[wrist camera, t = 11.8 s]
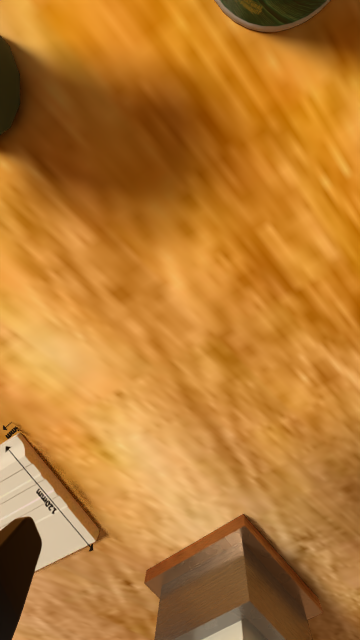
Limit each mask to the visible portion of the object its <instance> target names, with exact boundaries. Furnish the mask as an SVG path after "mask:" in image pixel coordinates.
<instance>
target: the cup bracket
mask: <svg viewBox="0 0 360 640" xmlns="http://www.w3.org/2000/svg"><path fill="white" fill-rule="evenodd" d="M144 583H145V584H146V585H147V586H148V587H149V588H150V589H151V590H152V591H153V592H154V593H155V594H156V596H157V597H158V598H159V599H160V602H159V610H158V617H157V625H156V632H155V640H202V639H204V638H206V637H208V636H210V635H212V634H214V633H216V632H218V631H220V630H222V629H224V628H226V627H228V626H230V625H233V624H235V623H237V622H239V621H241V620H243V619H245V618H247V619H248V620H249V621H250V622H251V623H252V624H253V625H254V626H255V628H256V629H257V630H258V631H259V632H260V633H261V634H262V635H263V636H264V637H265V638H266V639H267V640H313V639H312V635H311V632H310V628H309V624H308V621H307V620H308V619H311V618H313V617H315V616H317V615H319V614H321V613H323V611H322V608H321V605H320V602H319V599H318V597H317V596H316V595H315V594H314V593H313V592H312V591H311V590H310V588H309V587H308V586H307V585H306V584H305V583H304V582H303V581H302V579H301V578H300V577H299V576H298V575H297V574H296V573H295V572H294V571H293V569H292V568H291V567H290V566H289V565H288V564H287V563H286V562H285V560H284V559H283V558H282V557H281V556H280V555H279V554H278V553H277V551H276V550H275V549H274V548H273V547H272V546H271V545H270V544H269V543H268V541H267V540H266V539H265V538H264V537H263V536H262V535H261V534H260V532H259V531H258V530H257V529H256V528H255V527H254V526H253V525H252V523H251V522H250V521H249V520H248V519H247V518H246V517H245V516H244V515H241V516H239V517H237V518H236V519H234V520H232V521H231V522H229V523H227V524H225V525H224V526H222V527H220V528H219V529H217V530H215V531H214V532H212V533H210V534H208V535H207V536H205V537H203V538H202V539H200V540H198V541H196V542H195V543H193V544H191V545H190V546H188V547H186V548H184V549H183V550H181V551H179V552H178V553H176V554H174V555H172V556H171V557H169V558H167V559H166V560H164V561H162V562H160V563H159V564H157V565H155V566H154V567H152V568H150V569H148V570H147V572H146V577H145V582H144Z"/></svg>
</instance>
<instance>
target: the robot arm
mask: <svg viewBox="0 0 360 640" xmlns="http://www.w3.org/2000/svg"><path fill="white" fill-rule="evenodd" d="M41 548H42V539H41V537H40V534H39V532H38V530H37V527H36V525H35V522H34V520H33V518H31V517H29V516H27V517H20V518H16V519H14V520H13V521H11V522H10V523H9V524H8V525H7V526H5V527H4V528H3V529H2V530H0V640H12V638H13V635H14V632H15V630H16V627H17V624H18V622H19V619H20V616H21V613H22V610H23V607H24V604H25V600H26V597H27V594H28V591H29V588H30V584H31V581H32V578H33V575H34V572H35V568H36V565H37V562H38V559H39V556H40V552H41Z"/></svg>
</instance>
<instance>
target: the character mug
mask: <svg viewBox="0 0 360 640" xmlns="http://www.w3.org/2000/svg"><path fill="white" fill-rule="evenodd" d="M19 105H20V74H19V71H18V69H17V66H16V63H15V60H14V57H13V54H12V51H11V48H10V46H9V45H8V44H7V43H6V42H5V40H4V39H3V38H2V37H1V36H0V135H1V134H2V133H4V132H5V131H6V130H8V129H9V128H10V127H11V125H12V122H13V120H14V117H15V115H16V112H17V110H18V107H19Z"/></svg>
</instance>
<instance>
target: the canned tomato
mask: <svg viewBox="0 0 360 640" xmlns="http://www.w3.org/2000/svg"><path fill="white" fill-rule="evenodd" d="M329 1H330V0H215V2H216V3H217V4H218V6H219V7H220V8H221V10H222V11H223V12H224V13H225V14H226V15H227V16H229V17H230V18H231V19H232V20H233V21H234V22H236V23H238V24H240V25H242V26H244V27H246V28H249V29H253V30H257V31H261V32H277V31H281V30H286V29H290V28H293V27H295V26H297V25H299V24H301V23H304V22H306V21H307V20H308V19H310V18H311V17H313V16H314V15H316V14H317V13H318V12H320V11H321V10H322V9H323V8H324V7H325V6H326V4H327V3H328V2H329Z"/></svg>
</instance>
